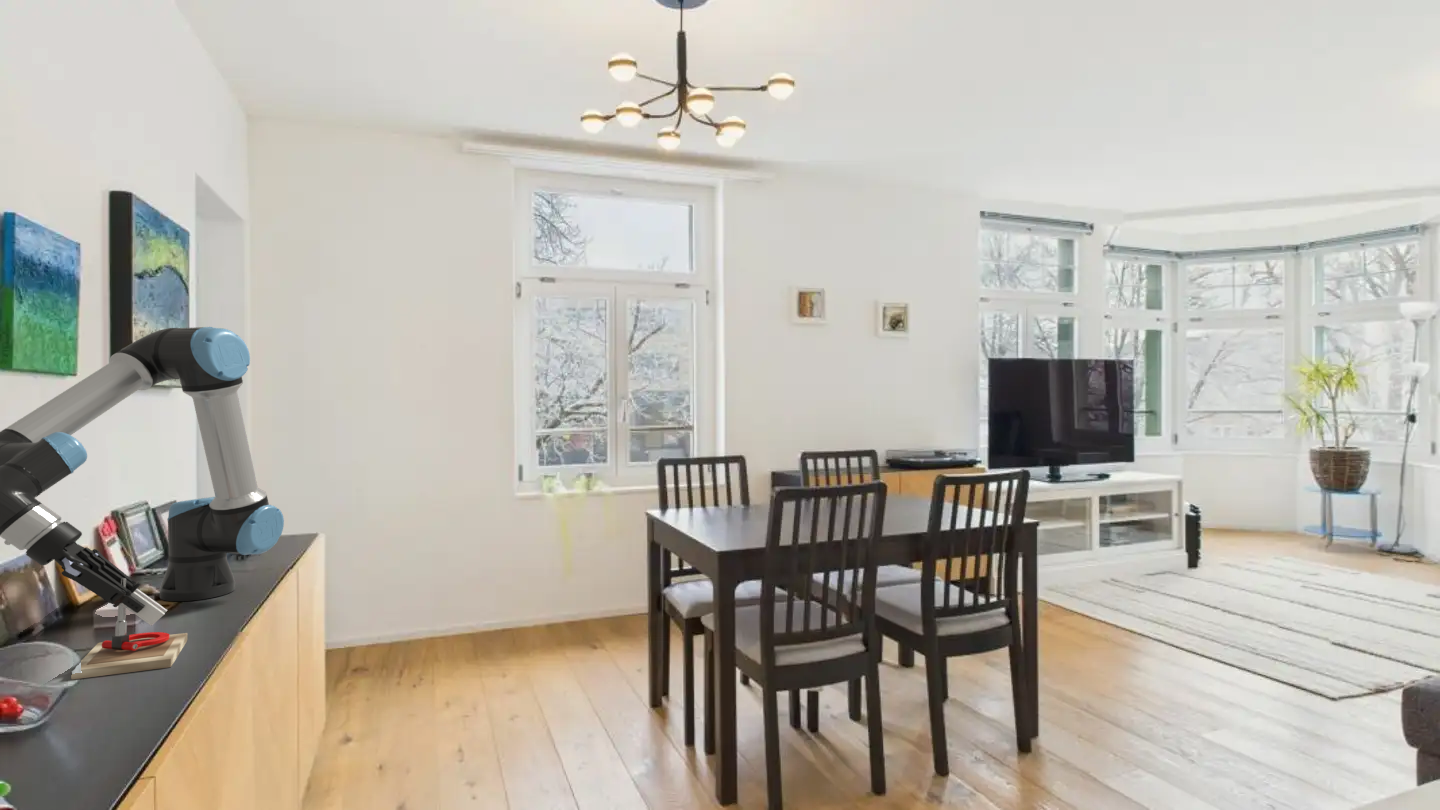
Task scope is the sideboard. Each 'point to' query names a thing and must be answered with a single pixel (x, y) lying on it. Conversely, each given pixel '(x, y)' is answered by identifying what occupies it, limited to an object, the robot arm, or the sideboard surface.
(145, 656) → the wooden tray
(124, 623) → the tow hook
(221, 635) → the sideboard surface
